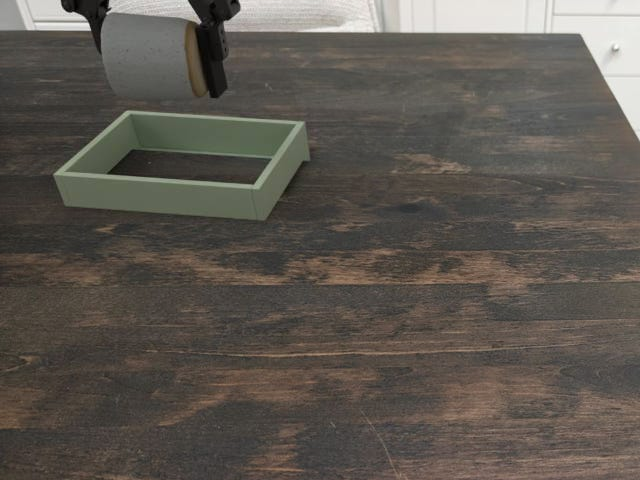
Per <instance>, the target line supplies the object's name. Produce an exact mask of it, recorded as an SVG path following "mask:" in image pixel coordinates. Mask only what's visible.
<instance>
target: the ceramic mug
mask: <svg viewBox="0 0 640 480" xmlns="http://www.w3.org/2000/svg"><path fill="white" fill-rule="evenodd" d="M199 24H200V23H197V21H193V20H190V19H187V18H183V17H177V16H162V15H161V16H159V15H149V14H140V13H139V14H138V13H127V12H116V11H111V12H108V13H107V16H106V17H105V19H104V22H103V25H102V29H101V51H102V55H101V56H102V62H103V66H104V72H105V74H106V78H107V81H108V83H109V85H110V87H111V89H112V92H113V93H114V94H115V96H116V97H117V98H118V99H120V100H122V101H190V100H191V101H192V100H197V99H201V98H203V97H205V96H206V95H207V93H209V89H208V85H207V81H206V76H205V72H204V67H203V63H202V59H201V54H200V50H199V45H198V41H197V37H196V32H195V27H197V26H198V25H199Z"/></svg>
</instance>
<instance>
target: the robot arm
mask: <svg viewBox="0 0 640 480" xmlns="http://www.w3.org/2000/svg"><path fill="white" fill-rule="evenodd" d="M187 2H188V3H189V5H190V7H191V8H192V10H193V11H194V13H195V15H196V17H198V19H199V20H200V23H198V24H199V25H198V26H197V27H195V32H196V37H197V41H198V45H199V50H200V54H201V59H202V63H203V67H204V72H205V76H206V81H207V85H208V89H209V90H208V93H209V94H208V95H209V98H210V99H219V98H220V97H221V96H222V95H223V94H224V93H225V92H226V91H227V90H228V89H229V88H228V82H227V77H226V71H225V68H224V61H225V60H226V59H227V58H228V57H229V52H230V49H229V45H228V40H227V35H226V30H225V24H224V23H225V22H228V21H230V20H232V19H233V18H234V17H235V16H236V15H238V13H240V12H241V9H242V6H241V2H240V1H239V0H187ZM60 6H61V8H62V9H63V10H64V11H65V12H66V13H69V14H72V13H75V14H77V15H80V16H82V17H83V18H84V19H85V20H86V21H87V23H88V25H89V29H90V31H91V35H92V38H93V41H94V43H95V44H94V46H95V48H96V50H97V51H98V53H99V54H100V55H101V56H102V51H101V29H102V25H103V22H104V19H105V17H106V16H107V14H108V13H109V12H110V11H112V8H113V7H112V6H110V0H60Z"/></svg>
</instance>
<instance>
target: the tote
mask: <svg viewBox="0 0 640 480" xmlns="http://www.w3.org/2000/svg"><path fill="white" fill-rule="evenodd" d="M132 150H138V151H154V152H166V153H167V152H168V153H183V154H199V155H214V156H227V157H241V158H257V159H258V158H259V159H271V160H270V161H269V162H268V163H267V165H266V167H265V168H264V170H263V171H262V173H261V174H260V175H259V177H258V178H257V180H256V181H255V183H254V184H249V183H233V182H219V181H207V180H204V181H203V180H190V179H176V178H161V177H147V176H133V175H119V174H108V173H109V172H110V171H111V170H113V168H114V167H116V165H118V163H119V162H121V161H122V160H123V159H124V158H125V157H126V156H127V155H128V154H129V153H130V152H131V151H132ZM310 154H311V153H310V148H309V140H308V134H307V126H306V122H305V121H299V120H298V121H297V120H296V121H295V120H285V119H269V118H268V119H267V118H254V117H253V118H252V117H251V118H250V117H235V116H221V115H205V114H188V113H173V112H172V113H171V112H159V111H158V112H157V111H144V110H143V111H141V110H126V111H124V112H123V113H122V114H121V115H120V116H118V117H117V118H116V119H115V120H114V121H113V122H112V123H110V124H109V125H108V126H107V127H106V128H105V129H103V131H101V132H100V133H99V134H98V135H97V136H95V137H94V138H93V139H92V140H91V141H90V142H89V143H88V144H86V145H85V146H84V147H83V148H82V149H80V150H79V151H78V152H77V153H76V154H75V155H74V156H73V157H71V158H70V159H69V160H68V161H67V162H65V164H63V165H62V166H61V167H60V168H59V169H58V170H56V171H55V172H54V173H53V174H52V176H53V179H54V182H55V183H56V184H55V185H56V187H57V189H58V191H59V194H60V196H61V199H62V201H63V204H64V206H65V207H73V208H86V209H98V210H100V209H101V210H113V211H127V212H128V211H129V212H139V213H141V212H142V213H152V214H153V213H155V214H167V215H182V216H183V215H184V216H194V217H195V216H197V217H211V218H222V219H223V218H224V219H225V218H226V219H237V220H248V221H249V220H250V221H251V220H252V221H264V222H265V221H266V220H268V219H267V218H268V217H269V216H270V214H271V212H272V211H273V209H274V208H275V206H276V204H277V203H278V201H279V199H280V198H281V196H282V195H283V193H284V192H285V190H286V188H287V187H288V185H289V184H290V182H291V181H292V180H293V178H294V176H295V175H296V173H297V171H298V169H299V168H300V166H301V165H302V163H303V162H311V155H310Z"/></svg>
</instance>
